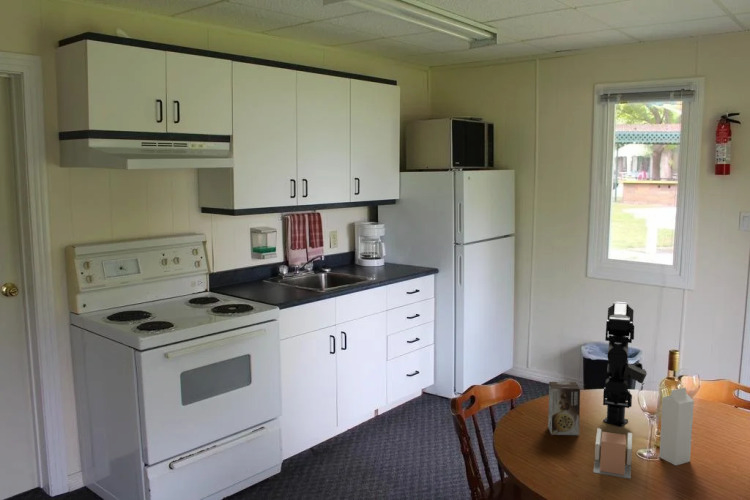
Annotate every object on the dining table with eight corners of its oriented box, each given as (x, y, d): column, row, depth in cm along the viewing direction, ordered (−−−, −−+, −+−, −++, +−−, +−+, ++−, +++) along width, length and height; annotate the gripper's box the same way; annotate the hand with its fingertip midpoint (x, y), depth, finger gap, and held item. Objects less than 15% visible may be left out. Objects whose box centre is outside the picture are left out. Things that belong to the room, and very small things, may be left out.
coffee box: (575, 427, 210) (576, 381, 208) (579, 435, 204) (581, 388, 202) (547, 426, 211) (548, 380, 209) (550, 435, 205) (552, 387, 203)
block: (601, 460, 187) (602, 431, 186) (624, 464, 184) (625, 435, 183) (600, 470, 180) (601, 441, 179) (624, 474, 178) (625, 444, 177)
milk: (690, 462, 186) (695, 390, 183) (675, 466, 183) (680, 393, 180) (673, 453, 191) (677, 384, 188) (658, 457, 189) (663, 387, 186)
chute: (596, 443, 199) (597, 428, 198) (631, 448, 195) (631, 433, 194) (593, 472, 180) (593, 456, 179) (631, 478, 176) (631, 462, 175)
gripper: (646, 368, 186) (643, 418, 188) (645, 350, 203) (642, 397, 205) (606, 363, 190) (604, 413, 192) (608, 347, 207) (606, 392, 209)
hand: (615, 403), depth 200 cm, fingers closed
